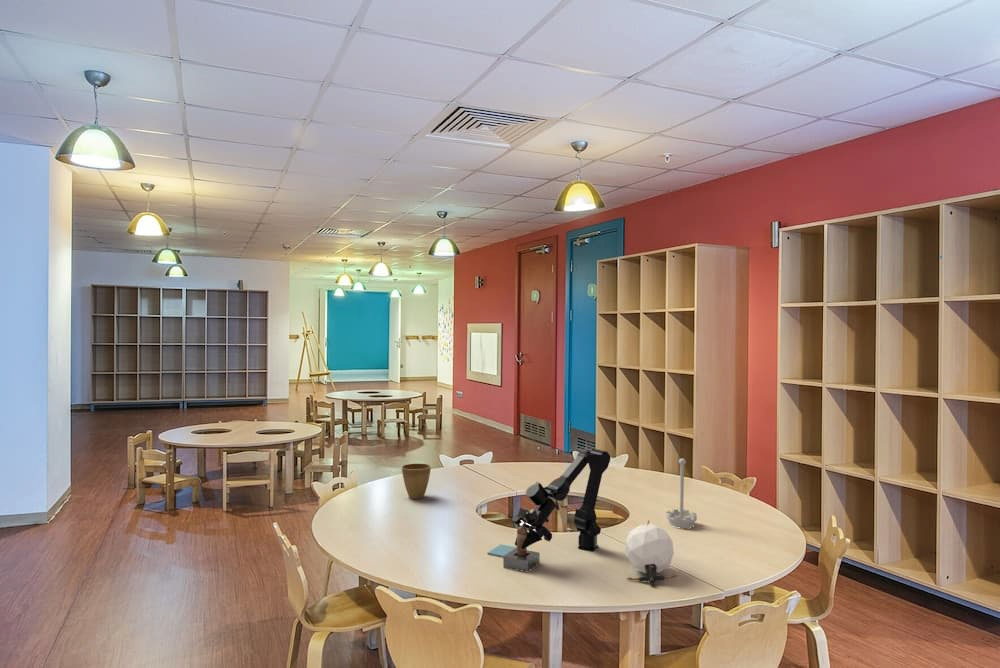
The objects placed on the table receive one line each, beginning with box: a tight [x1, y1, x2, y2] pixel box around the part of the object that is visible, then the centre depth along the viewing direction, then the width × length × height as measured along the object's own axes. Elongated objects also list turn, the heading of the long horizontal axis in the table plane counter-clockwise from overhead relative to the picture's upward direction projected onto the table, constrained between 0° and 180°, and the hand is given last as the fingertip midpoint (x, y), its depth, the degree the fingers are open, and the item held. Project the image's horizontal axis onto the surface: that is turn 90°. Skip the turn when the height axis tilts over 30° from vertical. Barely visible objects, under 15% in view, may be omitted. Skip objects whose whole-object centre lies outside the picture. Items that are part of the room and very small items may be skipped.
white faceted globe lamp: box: [625, 520, 678, 586], centre depth 230 cm, size 17×25×24 cm
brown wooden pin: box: [516, 526, 528, 558], centre depth 239 cm, size 4×4×14 cm
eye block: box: [502, 548, 541, 572], centre depth 239 cm, size 10×10×4 cm
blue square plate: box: [486, 543, 517, 558], centre depth 252 cm, size 11×11×1 cm
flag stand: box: [666, 458, 698, 529], centre depth 289 cm, size 13×13×30 cm
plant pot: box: [401, 462, 432, 500], centre depth 330 cm, size 15×15×16 cm
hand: (518, 546), depth 238 cm, fingers closed on brown wooden pin, 4 cm apart
